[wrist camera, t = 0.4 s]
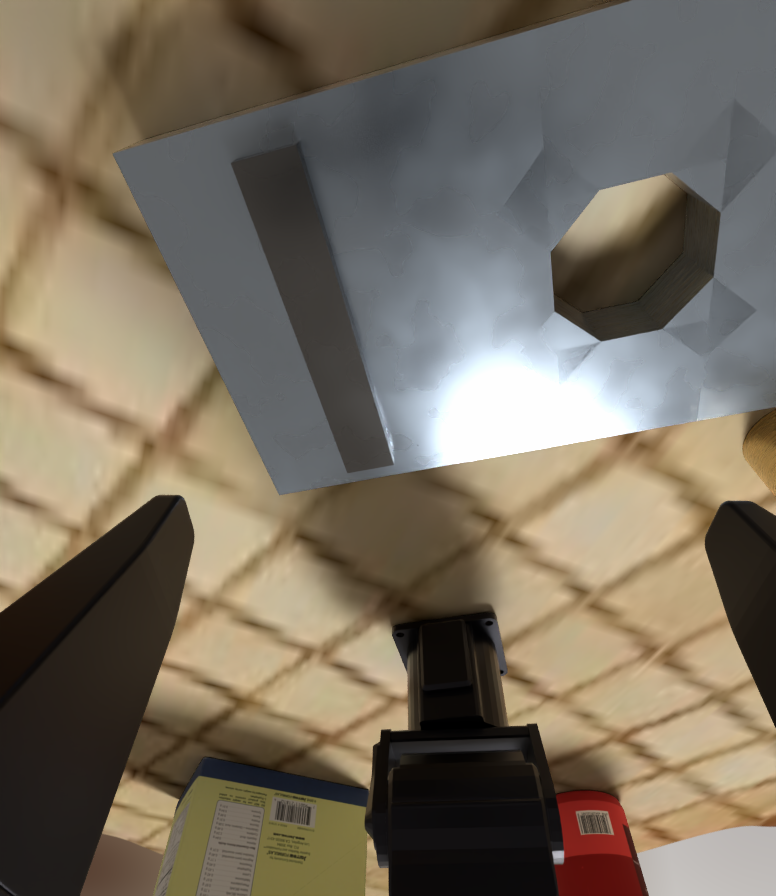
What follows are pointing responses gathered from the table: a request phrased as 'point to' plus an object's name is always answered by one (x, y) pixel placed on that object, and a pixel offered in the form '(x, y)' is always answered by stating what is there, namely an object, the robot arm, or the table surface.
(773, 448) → the cylinder
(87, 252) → the table surface
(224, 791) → the protein box
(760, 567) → the robot arm
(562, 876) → the canned food
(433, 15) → the table surface
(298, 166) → the jig
